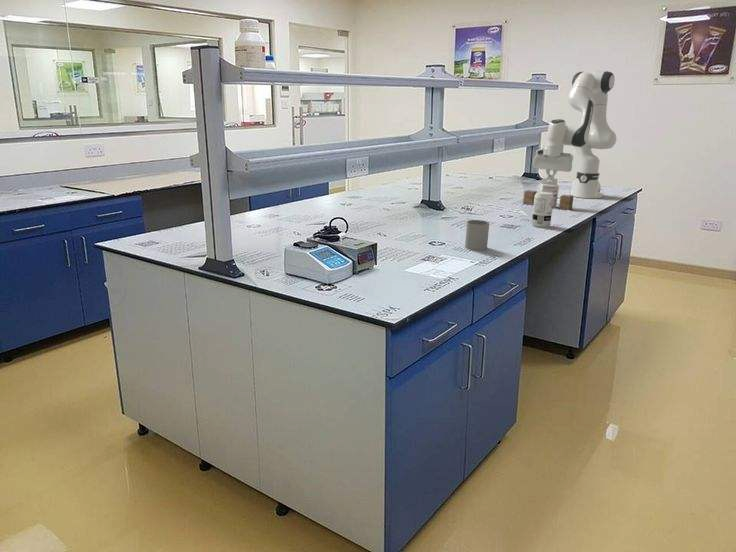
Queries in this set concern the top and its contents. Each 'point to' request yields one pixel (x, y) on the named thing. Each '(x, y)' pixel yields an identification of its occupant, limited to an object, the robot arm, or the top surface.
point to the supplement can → (542, 209)
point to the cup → (477, 235)
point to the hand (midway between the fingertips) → (550, 178)
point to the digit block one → (566, 202)
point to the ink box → (550, 188)
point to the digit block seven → (529, 197)
